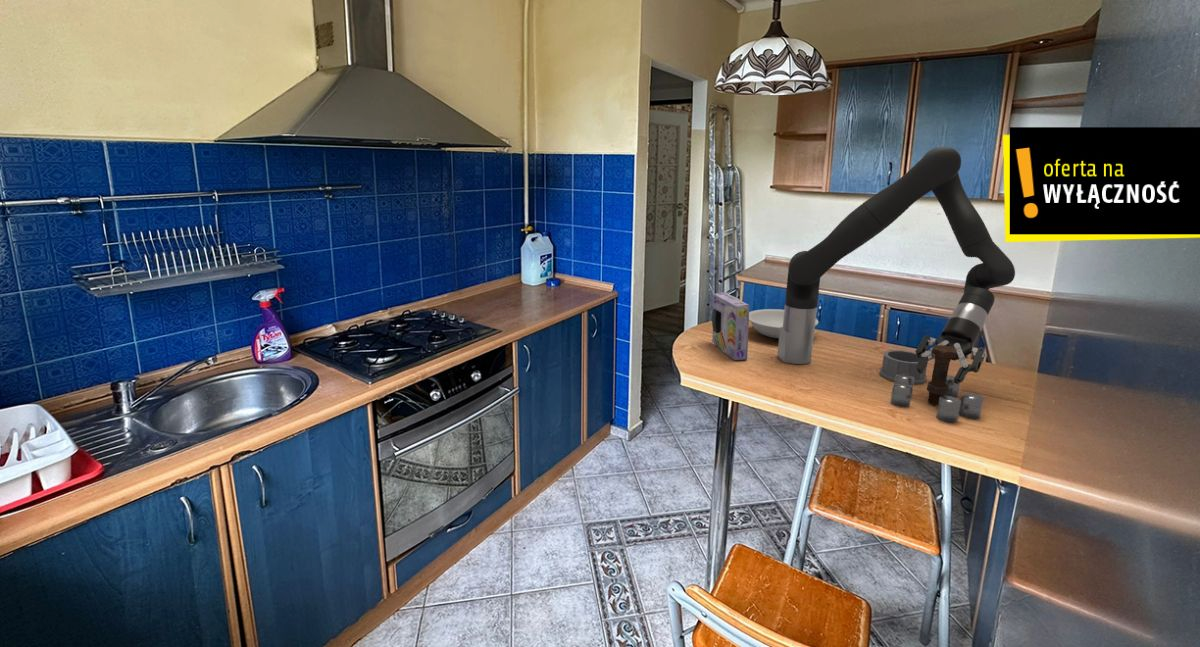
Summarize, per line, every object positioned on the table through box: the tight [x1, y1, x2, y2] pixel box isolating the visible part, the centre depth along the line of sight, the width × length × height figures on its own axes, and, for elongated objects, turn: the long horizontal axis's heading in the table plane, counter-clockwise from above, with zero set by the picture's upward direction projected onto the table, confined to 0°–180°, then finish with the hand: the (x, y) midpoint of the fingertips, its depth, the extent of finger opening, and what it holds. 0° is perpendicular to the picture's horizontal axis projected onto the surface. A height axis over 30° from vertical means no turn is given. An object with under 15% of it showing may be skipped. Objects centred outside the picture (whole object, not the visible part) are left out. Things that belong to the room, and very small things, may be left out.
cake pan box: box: [711, 291, 750, 361], centre depth 180 cm, size 19×5×18 cm, turn 11°
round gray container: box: [878, 349, 928, 385], centre depth 162 cm, size 12×12×6 cm
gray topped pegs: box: [890, 373, 985, 424], centre depth 143 cm, size 19×19×5 cm
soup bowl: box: [749, 308, 819, 340], centre depth 198 cm, size 24×24×7 cm
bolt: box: [926, 344, 957, 407], centre depth 142 cm, size 6×5×15 cm
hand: (937, 377), depth 141 cm, fingers open, 8 cm apart
